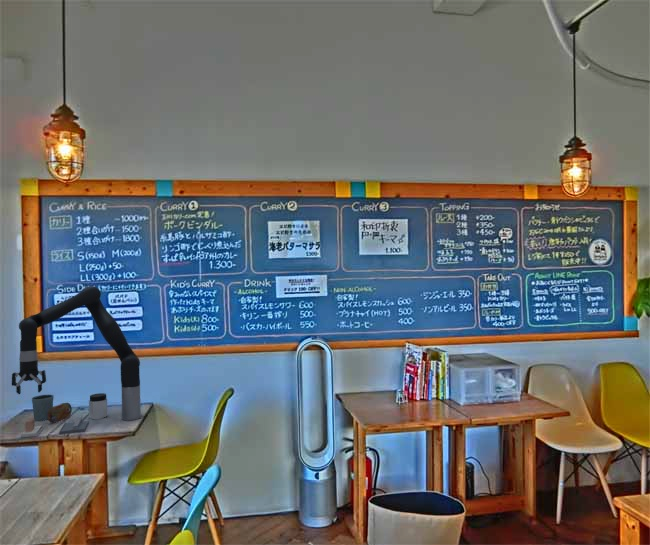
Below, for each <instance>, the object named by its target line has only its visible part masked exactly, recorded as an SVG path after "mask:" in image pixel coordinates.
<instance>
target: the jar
mask: <svg viewBox="0 0 650 545" xmlns="http://www.w3.org/2000/svg"><path fill="white" fill-rule="evenodd" d="M88 409H89V410H88V415H89V419H90V420H93V419H94V420H101V419H100V418H102V419H104V417H105V418H106V416H107V417H108V398H107V393H105V392H103V393H101V392H99V393H94V394H91V395H89V401H88Z"/></svg>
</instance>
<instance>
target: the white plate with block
mask: <svg viewBox="0 0 650 545" xmlns="http://www.w3.org/2000/svg"><path fill="white" fill-rule="evenodd" d="M24 425H25V426H24V427H25V430H23V432H21V433H20V439H22V438H24V439H25V438H31V437H38V436H39V435H40V434H41V432H42V431H43V430H44V425H38V426H35V421H34V417H30V418H27V420H26V421H25V422H24Z"/></svg>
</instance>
